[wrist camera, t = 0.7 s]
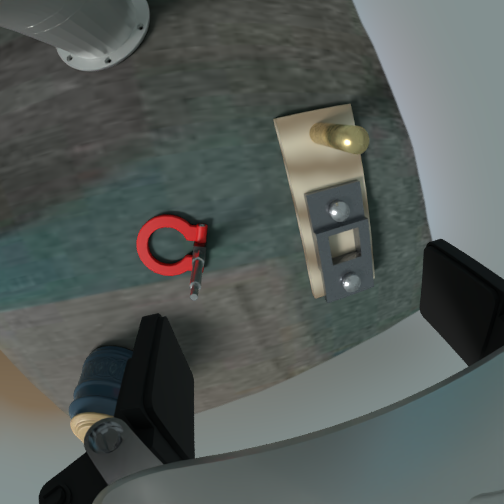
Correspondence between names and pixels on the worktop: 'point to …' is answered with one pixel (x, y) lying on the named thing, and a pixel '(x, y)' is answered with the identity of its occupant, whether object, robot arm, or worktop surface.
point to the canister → (98, 388)
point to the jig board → (318, 177)
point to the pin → (340, 137)
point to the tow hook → (189, 261)
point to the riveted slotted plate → (333, 222)
